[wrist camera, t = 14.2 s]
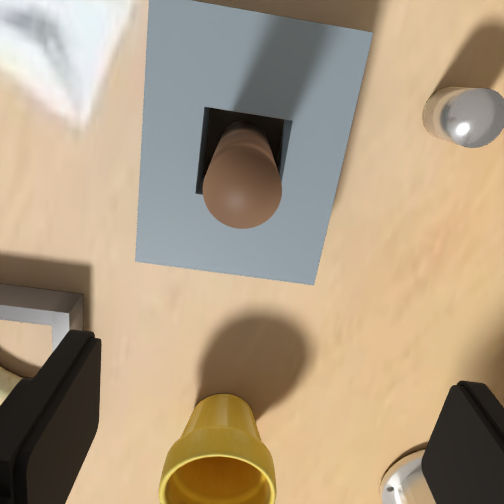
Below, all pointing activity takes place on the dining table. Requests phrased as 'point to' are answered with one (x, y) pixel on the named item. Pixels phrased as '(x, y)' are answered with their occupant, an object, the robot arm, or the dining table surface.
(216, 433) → the plant pot
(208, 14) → the hole block
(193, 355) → the dining table surface
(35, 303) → the tray
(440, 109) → the short steel pin
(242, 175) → the long walnut pin
